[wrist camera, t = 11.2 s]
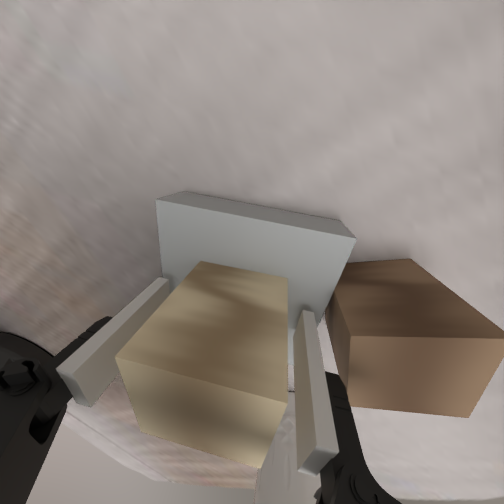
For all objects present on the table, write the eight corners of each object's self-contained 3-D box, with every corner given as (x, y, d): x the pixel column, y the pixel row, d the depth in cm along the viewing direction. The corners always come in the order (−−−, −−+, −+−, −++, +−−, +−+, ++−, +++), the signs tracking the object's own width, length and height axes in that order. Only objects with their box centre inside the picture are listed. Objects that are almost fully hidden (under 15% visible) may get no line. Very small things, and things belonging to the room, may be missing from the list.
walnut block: (325, 319, 17) (346, 405, 11) (324, 264, 15) (350, 336, 9) (398, 318, 16) (468, 417, 10) (409, 258, 14) (514, 339, 7)
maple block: (200, 322, 15) (141, 432, 9) (200, 260, 12) (114, 356, 6) (271, 339, 15) (260, 469, 8) (287, 278, 12) (287, 403, 6)
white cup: (279, 380, 23) (275, 519, 14) (335, 405, 23) (366, 558, 14) (254, 405, 26) (237, 528, 17) (302, 427, 27) (310, 558, 18)
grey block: (188, 302, 20) (167, 332, 17) (186, 190, 15) (155, 199, 11) (297, 329, 19) (299, 367, 16) (338, 219, 14) (357, 238, 10)
